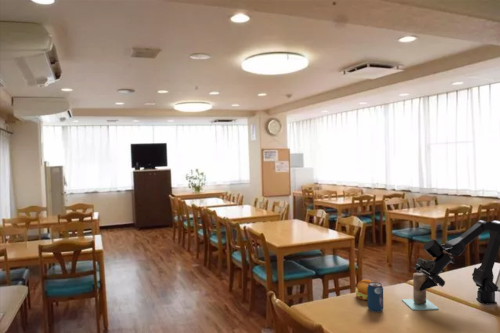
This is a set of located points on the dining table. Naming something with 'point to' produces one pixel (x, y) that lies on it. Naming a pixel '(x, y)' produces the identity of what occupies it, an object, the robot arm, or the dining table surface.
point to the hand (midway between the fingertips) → (416, 288)
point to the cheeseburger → (362, 289)
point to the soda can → (375, 296)
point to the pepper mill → (417, 283)
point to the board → (420, 305)
